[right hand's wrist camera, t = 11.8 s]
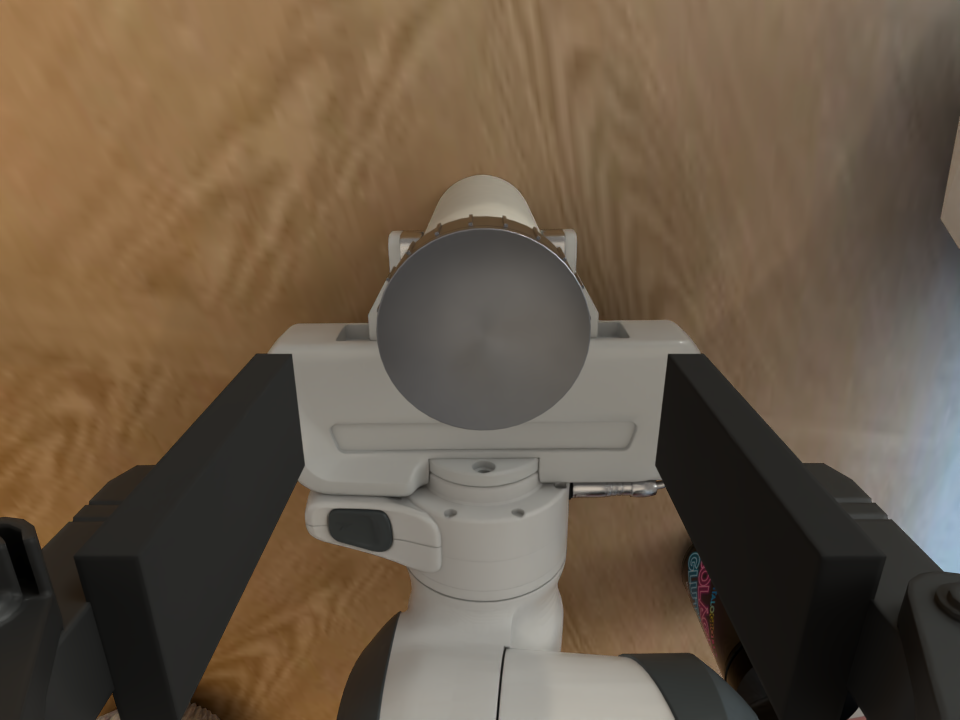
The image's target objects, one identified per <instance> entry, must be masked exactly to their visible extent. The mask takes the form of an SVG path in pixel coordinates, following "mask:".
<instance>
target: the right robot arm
mask: <svg viewBox="0 0 960 720" xmlns="http://www.w3.org/2000/svg"><path fill="white" fill-rule="evenodd" d="M304 467H305V461H304V452H303V443H302V435H301V426H300V418H299V409H298V400H297V392H296V383H295V375H294V366H293V358H292V354H256V355H255V356H254V357H253V358H252V359H251V360H250V361H249V362H248V364H247V365H246V366H245V367H244V368H243V369H242V370H241V371H240V372H239V373H238V375H237V376H236V377H235V378H234V379H233V380H232V381H231V382H230V383H229V385H228V386H227V387H226V388H225V389H224V390H223V391H222V392H221V393H220V394H219V396H218V397H217V398H216V399H215V400H214V401H213V402H212V403H211V404H210V406H209V407H208V408H207V409H206V410H205V411H204V412H203V413H202V414H201V416H200V417H199V418H198V419H197V420H196V421H195V422H194V423H193V424H192V425H191V427H190V428H189V429H188V430H187V431H186V432H185V433H184V434H183V435H182V437H181V438H180V439H179V440H178V441H177V442H176V443H175V444H174V445H173V446H172V448H171V449H170V450H169V451H168V452H167V453H166V454H165V455H164V456H163V458H162V459H161V460H160V461H159V462H158V463H157V464H156V465H137V466H135V467H133V468H132V469H130V470H128V471H126V472H125V473H123V474H121V475H119V476H118V477H116V478H114V479H113V480H111V481H109V482H108V483H107V484H106V485H105V486H104V487H103V488H102V489H101V490H100V491H99V492H98V493H97V494H96V495H95V496H94V497H93V498H92V499H91V500H90V501H89V505H85V506H84V507H83V508H82V509H81V510H80V511H79V512H78V513H77V514H76V515H75V516H74V517H73V522H68V523H67V524H66V525H65V526H64V527H63V528H62V529H61V530H60V531H59V532H58V533H57V534H56V535H55V536H54V537H53V538H52V539H51V540H50V541H49V542H48V543H47V544H46V546H45V547H44V548H43V549H42V550H41V547H40V544H39V540H38V537H37V534H36V531H35V527H34V526H33V525H32V524H30V523H29V522H27V521H26V520H24V519H18V518H10V517H1V518H0V720H96V718H97V716H98V715H99V713H100V712H101V710H102V708H103V707H104V705H105V704H106V702H107V700H108V699H109V697H110V696H111V694H112V693H113V696H114V700H115V703H116V707H117V710H118V714H119V717H120V720H181V719H182V717H183V715H184V713H185V711H186V709H187V707H188V705H189V703H190V700H191V698H192V696H193V694H194V692H195V690H196V688H197V686H198V684H199V682H200V680H201V678H202V676H203V674H204V672H205V670H206V668H207V666H208V664H209V661H210V659H211V657H212V655H213V653H214V651H215V649H216V647H217V645H218V643H219V641H220V639H221V637H222V635H223V633H224V631H225V629H226V627H227V625H228V622H229V620H230V618H231V616H232V614H233V612H234V610H235V608H236V606H237V604H238V602H239V600H240V598H241V596H242V594H243V592H244V590H245V588H246V586H247V583H248V581H249V579H250V577H251V575H252V573H253V571H254V569H255V567H256V565H257V563H258V561H259V559H260V557H261V555H262V553H263V551H264V549H265V547H266V544H267V542H268V540H269V538H270V536H271V534H272V532H273V530H274V528H275V526H276V524H277V522H278V520H279V518H280V516H281V514H282V512H283V510H284V508H285V505H286V503H287V501H288V499H289V497H290V495H291V493H292V491H293V489H294V487H295V485H296V483H297V481H298V479H299V477H300V475H301V473H302V471H303V469H304ZM655 467H656V469H657V471H658V473H659V475H660V477H661V479H662V481H663V483H664V485H665V487H666V489H667V491H668V493H669V495H670V497H671V499H672V501H673V503H674V505H675V508H676V510H677V512H678V514H679V516H680V518H681V520H682V522H683V524H684V526H685V528H686V530H687V532H688V534H689V536H690V538H691V540H692V542H693V544H694V547H695V549H696V551H697V553H698V555H699V557H700V559H701V561H702V563H703V565H704V567H705V569H706V571H707V573H708V575H709V577H710V579H711V581H712V583H713V586H714V588H715V590H716V592H717V594H718V596H719V598H720V600H721V602H722V604H723V606H724V608H725V610H726V612H727V614H728V616H729V618H730V620H731V622H732V625H733V627H734V629H735V631H736V633H737V635H738V637H739V639H740V641H741V643H742V645H743V647H744V649H745V651H746V653H747V655H748V657H749V659H750V661H751V664H752V666H753V668H754V670H755V672H756V674H757V676H758V678H759V680H760V682H761V684H762V686H763V688H764V690H765V692H766V694H767V696H768V698H769V700H770V703H771V705H772V707H773V709H774V711H775V713H776V715H777V717H778V719H779V720H840V717H841V714H842V710H843V707H844V703H845V700H846V696H847V693H848V691H849V692H850V694H851V695H852V697H853V699H854V700H855V702H856V703H857V705H858V707H859V708H860V710H861V711H862V713H863V714H864V716H865V718H866V720H960V574H958V573H950V572H944V571H943V570H942V569H941V568H940V567H939V566H938V565H937V564H936V563H935V562H934V561H933V560H932V559H931V558H930V557H929V556H928V555H927V554H926V553H925V552H924V551H923V550H922V549H921V548H920V547H919V546H918V545H917V544H916V543H915V542H914V541H913V540H912V539H911V538H910V537H909V536H908V535H907V534H906V533H905V532H904V531H903V530H902V529H901V528H900V527H899V526H898V525H897V524H896V523H895V522H894V521H893V520H892V519H888V517H887V514H886V513H885V512H884V511H883V510H882V509H881V508H880V507H879V506H878V505H877V504H876V503H872V502H871V498H870V497H869V496H868V495H867V494H866V493H865V492H864V491H863V490H862V489H861V488H860V487H859V486H858V485H857V484H856V483H855V482H854V481H853V480H852V479H850V478H848V477H847V476H845V475H843V474H841V473H840V472H838V471H836V470H834V469H833V468H831V467H829V466H827V465H826V464H824V463H802V462H801V461H800V460H799V459H798V458H797V456H796V455H795V454H794V453H793V452H792V451H791V450H790V449H789V448H788V446H787V445H786V444H785V443H784V442H783V441H782V440H781V439H780V438H779V437H778V435H777V434H776V433H775V432H774V431H773V430H772V429H771V428H770V427H769V425H768V424H767V423H766V422H765V421H764V420H763V419H762V418H761V417H760V416H759V414H758V413H757V412H756V411H755V410H754V409H753V408H752V407H751V406H750V404H749V403H748V402H747V401H746V400H745V399H744V398H743V397H742V396H741V395H740V393H739V392H738V391H737V390H736V389H735V388H734V387H733V386H732V385H731V383H730V382H729V381H728V380H727V379H726V378H725V377H724V376H723V375H722V373H721V372H720V371H719V370H718V369H717V368H716V367H715V366H714V365H713V364H712V362H711V361H710V360H709V359H708V358H707V357H706V356H705V355H704V354H668V358H667V366H666V375H665V383H664V392H663V400H662V409H661V418H660V426H659V435H658V443H657V452H656V461H655Z"/></svg>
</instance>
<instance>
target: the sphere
mask: <svg viewBox="0 0 960 720" xmlns="http://www.w3.org/2000/svg"><path fill="white" fill-rule="evenodd" d="M940 219H941V221H942V222H943V224H944V225H945V227H946V229H947V230H948V232H949V233H950V235H951V237H952V238H953V240H954V241H955V243H956V244H957V246H958V248H959V249H960V118H959V123H958V129H957V134H956V139H955V144H954V150H953V155H952V160H951V165H950V171H949V176H948V181H947V187H946V192H945V197H944V202H943V208H942V213H941V218H940Z"/></svg>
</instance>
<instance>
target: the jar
mask: <svg viewBox="0 0 960 720" xmlns="http://www.w3.org/2000/svg"><path fill="white" fill-rule="evenodd" d="M470 214H473V216H492V217H501V218H502V216H503V215H504V216H506V218H507V219H509V220H513V221H516V222H519V223H521V224H524V225H527V226H528V227H530V228H533V227H536V228H537V230H538V232H539V233H540V234H541V232H540V230H539V228H538V226H537V224H536V221H535V219H534V217H533V215H532V213H531V211H530V209H529V206H528V204H527V202H526V200H525V199H524V197H523V196H522V194H521V193H520V192H519V191H518V190H517V189H516V188H515V187H514V186H513V185H511V184H510V183H509V182H507V181H505V180H503V179H501V178H498V177H494V176H490V175H475V176H470V177H467V178H464V179H462V180H460V181H458V182H456V183H455V184H453V185H452V186H451V187H450V188H448V189H447V190H446V192H445V193H444V194H443V195H442V197H441V198H440V200H439V202H438V204H437V206H436V208H435V210H434V213H433V215H432V217H431V220H430V222H429V224H428V226H427V229H426V231H425V233H424V235H425V234H427V233H428V232H430V231H431V230H433V229H435V228H436V227H437V224H439V223H441V225H443V224H445V223H448V222H451V221H454V220H457V219H461V218H467V217H469V215H470Z"/></svg>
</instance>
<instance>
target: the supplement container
mask: <svg viewBox="0 0 960 720" xmlns="http://www.w3.org/2000/svg"><path fill="white" fill-rule="evenodd" d="M681 575H682V581H683V584H684V586H685V589H686V591H687V593H688V596H689V598H690V601H691V603H692V605H693V608H694V610H695V612H696V615H697V617H698V620H699V622H700V624H701V627H702V629H703V631H704V634H705V636H706V639H707V641H708V643H709V646H710V648H711V650H712V653H713V655H714V658H715V660H716V662H717V665H718V667H719V669H720V672H721V674H722V677H723V679H724V680H725V681H726V682H727V683H728V684H729V685H730V686H731V687H732V688H733V689H734V690H735V691H736V692H737V693H738V694H739V695H740V696H741V697H742V698H743V699H744V700H745V702H746V703H747V704H748V705H749V706H750V707H751V709H752V710H753V711H754V712H755V713H756V715H757V717H758V719H759V720H779V719H778V717H777V715H776V713H775V711H774V709H773V707H772V705H771V703H770V700H769V698H768V696H767V694H766V692H765V690H764V688H763V686H762V684H761V682H760V680H759V678H758V676H757V674H756V672H755V670H754V668H753V666H752V664H751V661H750V659H749V657H748V655H747V653H746V651H745V649H744V647H743V645H742V643H741V641H740V639H739V637H738V635H737V633H736V631H735V629H734V627H733V625H732V622H731V620H730V618H729V616H728V614H727V612H726V610H725V608H724V606H723V604H722V602H721V600H720V598H719V596H718V594H717V592H716V590H715V588H714V586H713V583H712V581H711V579H710V577H709V575H708V573H707V571H706V569H705V567H704V565H703V563H702V561H701V559H700V557H699V555H698V553H697V551H696V549H695V547H694V544H692V545H691V546H690V547H689V549H688V550H687V552H686V554H685V556H684V559H683V563H682V570H681ZM858 708H859V707H858V705H857V703H856V702H855V700H854V699H853V697H852V695H851V694H850V692H849V691H848V693H847V696H846V700H845V703H844V707H843V710H842V714H841V717H840V720H848V719H849V718H850V717H851V716H852V715H853V714H854V713H855V712H856V710H857V709H858Z"/></svg>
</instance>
